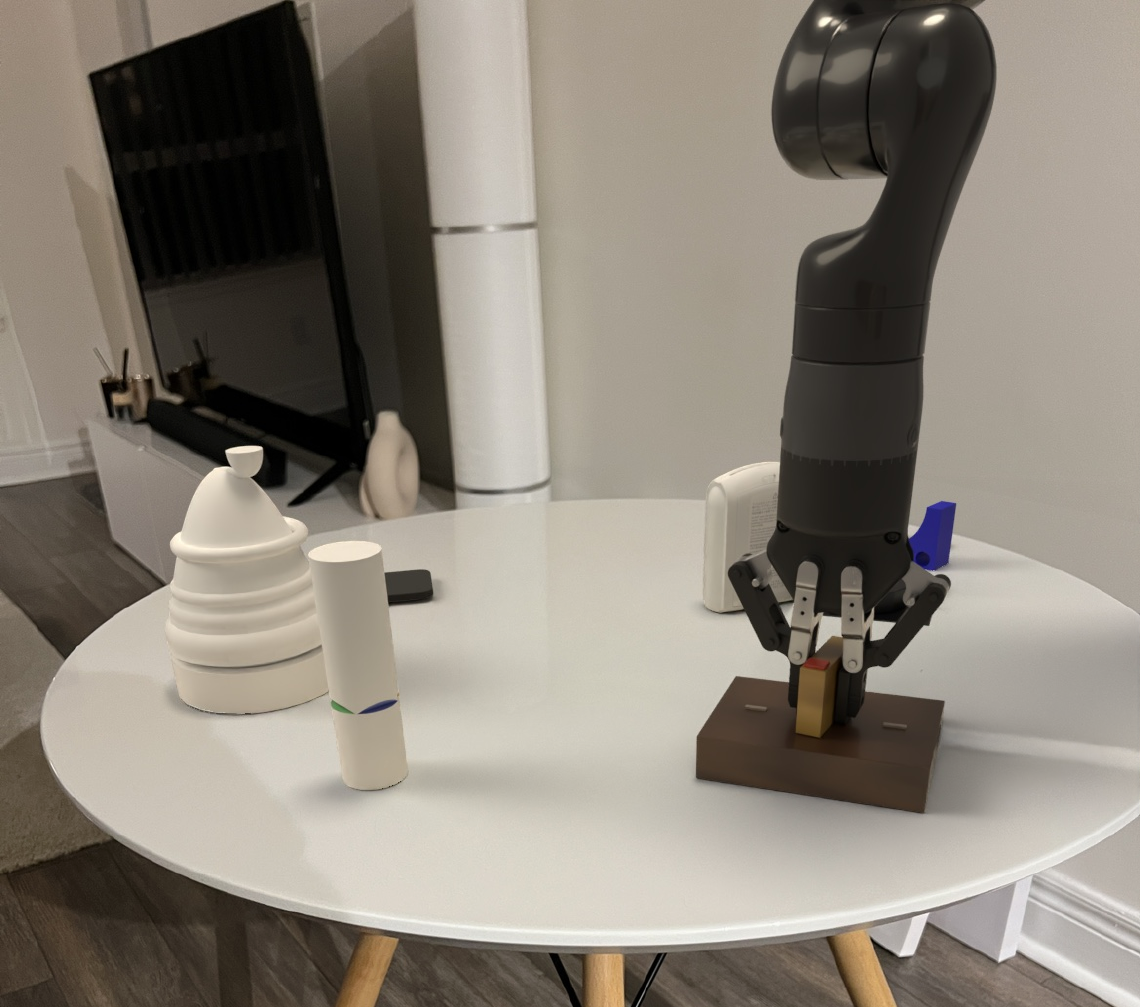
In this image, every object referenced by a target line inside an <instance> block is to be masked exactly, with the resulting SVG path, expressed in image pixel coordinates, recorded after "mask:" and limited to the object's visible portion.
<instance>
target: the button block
mask: <svg viewBox="0 0 1140 1007" xmlns="http://www.w3.org/2000/svg"><path fill="white" fill-rule="evenodd" d="M905 590H906V584H905V582H904V581H903V580H902V579H901V580H900V581H899V582H898V583H897V584H896V585H895V586H894V587H893V588H892V589H891V590H890V591H889V592H888V593H887V594H886V595H885V596H884V597H883V598H882V599H881V600H880V601H879V603H878V604H877V605H876V606H875V607H874V618H873V622H882V623H893V624H895V623H896V622H897V621H898V620H899V618H900V617H901V616H902V615H903V613H904V612H905V611H906V610H907V608H908V606H906V605H905V603H904V602H903V594H904V593H905ZM792 613H793V611H792ZM822 617H830V618H840V619H841V617H842V616H840V615H837V614H835V613H832V612H824V613H823V616H822ZM932 617H933V615H932V616H931V617H930V619H929V620H928V621H927V622H926V623H925V625H924V626H925V627H929V626H930V624H931V620H932ZM924 626H923V627H924Z"/></svg>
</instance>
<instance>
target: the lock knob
mask: <svg viewBox="0 0 1140 1007" xmlns="http://www.w3.org/2000/svg"><path fill="white" fill-rule="evenodd" d="M842 667H843V637H842V636H838V635H831V636H830V637H829V638H828V639H827V640H826V641H825V642H824V643H823V645H821V646H820V648H818V650H816V652H815V654H814V655H813V656H812V657H811V658H809V659H808V660H807V661H806V662H805V663H804V665H803V666H802V667H801V668H800V677H799V692H798V706H797V721H796V733H799V734H804V735H809V736H813V737H818V738H820V737H821V736H822V735H823V734H824V733H825V731H826V730H827V729H828V728H829V727H830V725H831V724H832V723H833V722H834V720H835V709H836V699H837V688H838V678H839V671H840V670H841V668H842Z"/></svg>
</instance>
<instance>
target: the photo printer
mask: <svg viewBox="0 0 1140 1007" xmlns="http://www.w3.org/2000/svg"><path fill="white" fill-rule="evenodd" d="M779 470H780V461H761V462H755V463H750V464H747V465H743V466H740V467H739V466H738V467H737V468H734V469H731V470H730V471H727V472H725V473H723V474H721V475H719V476H717V477H716V478H714V479H712V481H710V483H709V484H708V486H707V489H706V493H705V504H704V506H705V507H704V530H703V531H704V532H703V558H702V559H703V562H702V563H703V564H702V566H703V567H702V600H703V601H704V602H703V604H704V607H705V608H706V609H708V610H710V611H711V612H715V613H726V612H734V611H741V610H744V608H743V606H742V604H741V602H740V600H739V598H738V596H737V594H736V592H735V590H734V588H733V586H732V584H731V582H730V580H729V577H728V570H729V568H730V567H731V566H732V565H733V563H734V562H735V561H737V560H738V559H739V558H740V557H742V556H743V555H744V554H747V553H750V554H755V553H757V552H759V551H762V550H764V549H766V548H767V544H768V541H769V540H770V538H771V537H772V535H773V533H774V531H775V528H776V520H777V502H778V486H779ZM771 571H772V575H773V576H772V580H771V581H770V582H769V584H770V587H771V589H772V591H773V593H774V595H775V597H776V599H777V601H778V603H783V602H789V601H794V600H793V598H792V597H791V595H790V594H789V592H788V590H787V589H786V587H785V586H784V584H783V582H782V581H781V579H780V577H779V576H778V574H777V573H776V571H775V569H774V568H773V566H771Z"/></svg>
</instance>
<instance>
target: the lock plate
mask: <svg viewBox="0 0 1140 1007" xmlns="http://www.w3.org/2000/svg"><path fill="white" fill-rule="evenodd" d="M788 689H789V681H781V680H774V679H764V678H756V677H749V676H740V675H735V677H734V678H733V680H732V681H731V682H730V684H729V686H728V687H727V689H726V690H725V692H724V693H723V694H722V696H721V697H720V700H719V701H718V702H717V704H716V706H715V708H713V710H712V712H711V714H710V715H709V717H708V718H707V720H706V721H705V723H704V724H703V726H702V727H701V729H700V730H699V731H698V733H697V735H696V744H695V745H696V747H695V753H696V754H695V778H696V779H700V780H707V781H714V782H720V783H727V784H731V785H732V784H734V785H739V786H740V785H741V786H745V787H753V788H758V789H765V790H772V791H778V792H784V793H792V794H797V795H799V794H800V795H803V796H804V795H805V796H811V797H816V798H817V797H818V798H822V799H823V798H824V799H831V800H837V801H843V802H850V803H857V804H863V805H869V806H876V807H881V808H882V807H883V808H888V809H889V808H890V809H896V810H902V811H907V812H915V813H921V814H925V810H926V806H927V801H928V798H929V793H930V788H931V783H932V778H933V773H934V770H935V764H936V760H937V755H938V751H939V745H940V741H941V740H940V739H941V732H942V726H943V725H942V724H943V718H944V711H945V703H946V701H945V700H941V699H933V698H925V697H924V698H923V697H917V696H909V695H901V694H900V695H898V694H891V693H883V692H875V691H867V690H865V698H864V703H863V705H862V707H861V709H860V710H859V712H858V714H857V716H856V717H855V718H853V717H850V719H849V721H848V723H847V725H842V724H836V723H835V722H833V723H832V724H831V725H830V727H829V728H828V729H827V730H826V731H825V733H824V734H823V735H822V736H821V737H820V738H818V737H813V736H809V735H804V734H799V733H796V721H797V717H796V708H792V707H790V705H789V702H788Z"/></svg>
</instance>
